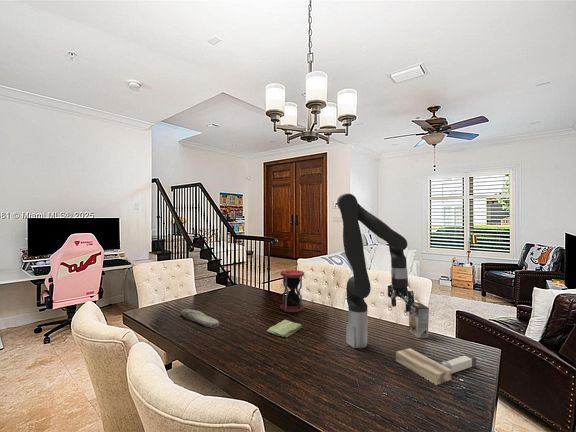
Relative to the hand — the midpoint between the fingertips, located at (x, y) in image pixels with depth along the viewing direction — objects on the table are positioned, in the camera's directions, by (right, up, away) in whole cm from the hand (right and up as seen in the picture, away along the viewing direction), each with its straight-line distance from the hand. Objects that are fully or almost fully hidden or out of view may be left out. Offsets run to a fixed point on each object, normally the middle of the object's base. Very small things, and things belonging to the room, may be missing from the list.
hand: (401, 308), depth 140 cm
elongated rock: (-109, -18, +32) cm, 115 cm away
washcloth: (-57, -19, +18) cm, 63 cm away
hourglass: (-53, -18, +56) cm, 79 cm away
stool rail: (0, -18, -21) cm, 28 cm away
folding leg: (+16, -18, -21) cm, 32 cm away
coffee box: (+15, -19, +15) cm, 28 cm away
